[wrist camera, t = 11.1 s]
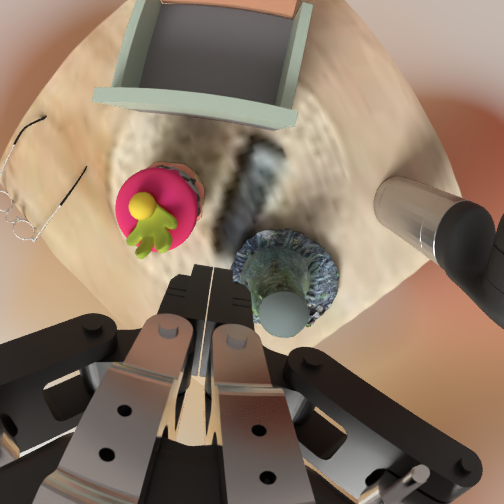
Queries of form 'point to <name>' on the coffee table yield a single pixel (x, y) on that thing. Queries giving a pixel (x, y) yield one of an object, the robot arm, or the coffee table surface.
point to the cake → (159, 207)
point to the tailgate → (249, 5)
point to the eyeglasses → (12, 201)
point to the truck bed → (210, 64)
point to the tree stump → (286, 280)
